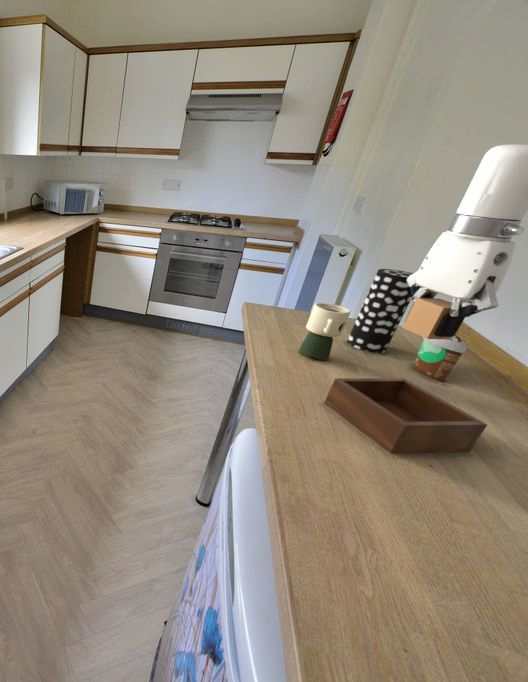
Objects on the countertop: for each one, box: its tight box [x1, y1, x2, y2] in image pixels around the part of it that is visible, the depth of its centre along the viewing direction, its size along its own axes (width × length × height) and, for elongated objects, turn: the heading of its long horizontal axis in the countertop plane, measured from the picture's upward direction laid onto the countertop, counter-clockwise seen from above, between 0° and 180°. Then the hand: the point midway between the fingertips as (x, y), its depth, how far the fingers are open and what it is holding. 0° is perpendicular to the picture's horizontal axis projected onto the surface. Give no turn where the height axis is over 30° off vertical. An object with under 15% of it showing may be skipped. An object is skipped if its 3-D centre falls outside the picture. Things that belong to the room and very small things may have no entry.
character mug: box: [298, 302, 351, 361], centre depth 100 cm, size 11×7×13 cm, turn 150°
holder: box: [324, 377, 488, 454], centre depth 75 cm, size 15×15×6 cm
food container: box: [412, 333, 469, 383], centre depth 96 cm, size 12×6×10 cm, turn 144°
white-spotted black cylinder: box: [346, 268, 414, 354], centre depth 105 cm, size 8×8×20 cm
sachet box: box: [401, 297, 463, 339], centre depth 74 cm, size 4×5×6 cm
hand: (428, 328), depth 75 cm, fingers closed on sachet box, 5 cm apart
